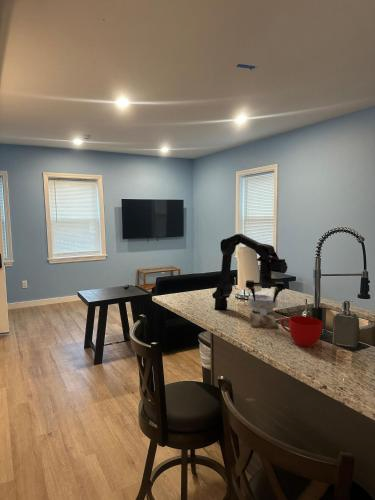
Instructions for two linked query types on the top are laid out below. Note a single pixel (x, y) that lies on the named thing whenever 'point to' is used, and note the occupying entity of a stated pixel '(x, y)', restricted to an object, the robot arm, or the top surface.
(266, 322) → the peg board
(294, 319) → the ceramic cup
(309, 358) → the top surface
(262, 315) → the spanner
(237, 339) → the top surface
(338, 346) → the top surface
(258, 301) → the paper bowls
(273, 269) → the robot arm
